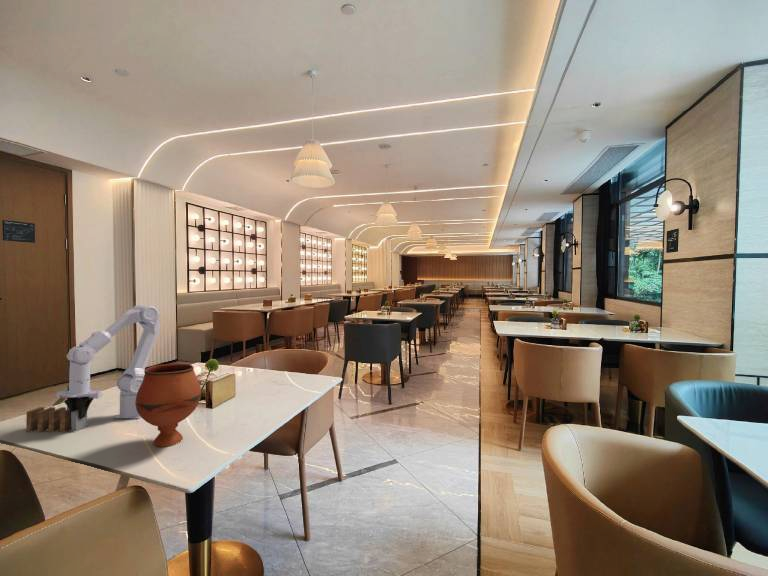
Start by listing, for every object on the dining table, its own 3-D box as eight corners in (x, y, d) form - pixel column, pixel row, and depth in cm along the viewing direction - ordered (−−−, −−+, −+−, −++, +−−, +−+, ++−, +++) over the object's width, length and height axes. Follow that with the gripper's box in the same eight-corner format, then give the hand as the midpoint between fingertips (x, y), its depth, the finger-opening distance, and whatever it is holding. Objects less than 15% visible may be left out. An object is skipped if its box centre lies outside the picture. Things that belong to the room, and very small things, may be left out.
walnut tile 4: (54, 426, 131) (55, 407, 131) (42, 431, 126) (42, 412, 126) (50, 426, 131) (50, 407, 131) (37, 431, 126) (37, 412, 126)
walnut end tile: (44, 426, 131) (44, 407, 130) (31, 431, 126) (31, 412, 125) (39, 426, 130) (39, 407, 130) (26, 431, 125) (26, 412, 125)
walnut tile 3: (65, 426, 131) (65, 407, 131) (53, 431, 126) (53, 412, 126) (60, 426, 131) (61, 407, 131) (48, 431, 126) (49, 412, 126)
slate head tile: (87, 425, 131) (87, 406, 131) (76, 431, 126) (75, 412, 126) (82, 425, 131) (82, 406, 131) (71, 431, 126) (71, 412, 126)
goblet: (172, 457, 109) (173, 376, 109) (118, 451, 112) (119, 372, 112) (212, 432, 128) (213, 363, 128) (165, 427, 131) (166, 360, 131)
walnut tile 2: (76, 426, 131) (76, 407, 131) (64, 432, 126) (64, 412, 126) (71, 426, 131) (71, 407, 131) (59, 432, 126) (60, 412, 126)
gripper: (49, 382, 124) (48, 421, 124) (92, 383, 125) (91, 422, 125) (66, 377, 131) (65, 414, 131) (106, 378, 132) (106, 414, 132)
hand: (79, 417), depth 129 cm, fingers closed on slate head tile, 2 cm apart
